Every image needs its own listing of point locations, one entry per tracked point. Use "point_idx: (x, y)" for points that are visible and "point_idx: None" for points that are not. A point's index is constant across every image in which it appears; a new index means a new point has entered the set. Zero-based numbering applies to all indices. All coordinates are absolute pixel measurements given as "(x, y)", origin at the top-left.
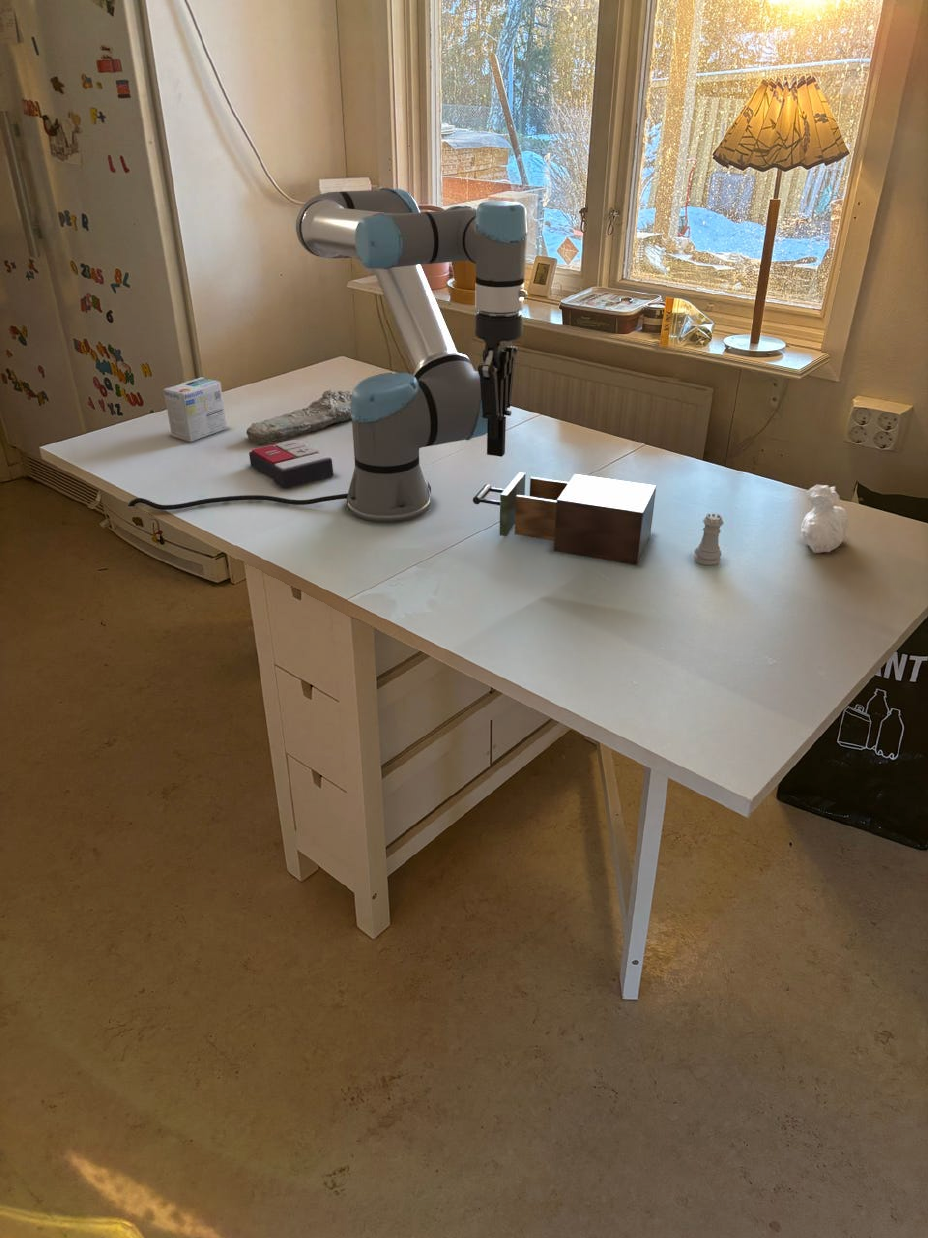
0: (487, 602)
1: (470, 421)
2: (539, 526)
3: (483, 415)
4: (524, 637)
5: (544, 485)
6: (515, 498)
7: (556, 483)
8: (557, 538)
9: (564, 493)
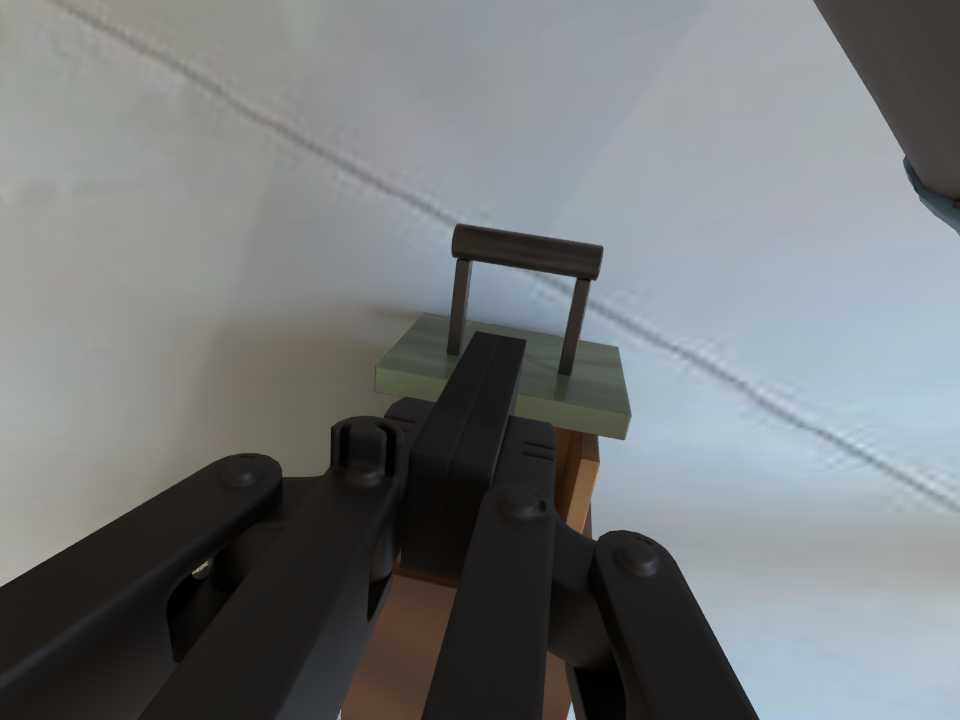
0: (108, 328)
1: (917, 147)
2: None
3: (208, 473)
4: (31, 419)
5: (568, 496)
6: None
7: None
8: None
9: (402, 585)
